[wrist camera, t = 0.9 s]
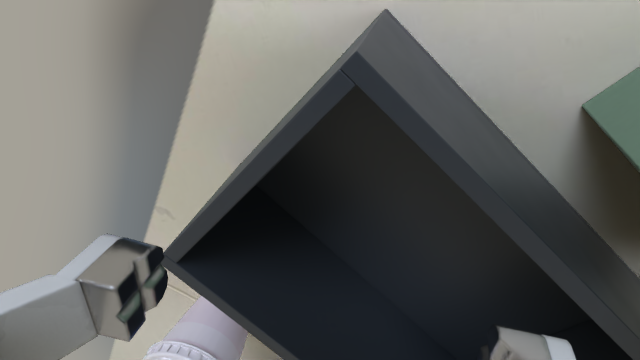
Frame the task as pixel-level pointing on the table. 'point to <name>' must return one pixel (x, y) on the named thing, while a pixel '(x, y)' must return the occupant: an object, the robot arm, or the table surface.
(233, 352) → the smoothie
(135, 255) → the robot arm
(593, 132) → the table surface
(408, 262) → the storage bin
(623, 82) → the stand
